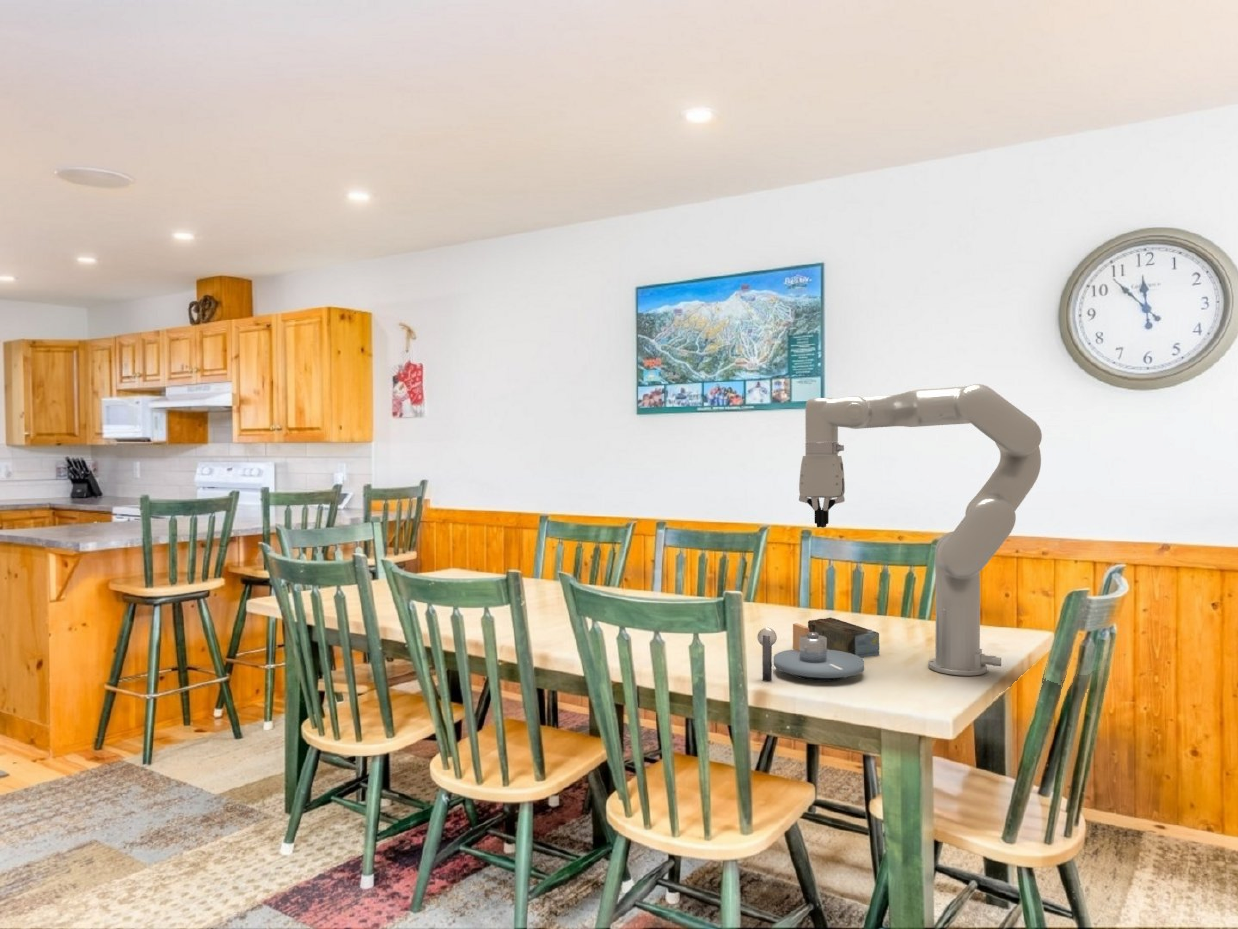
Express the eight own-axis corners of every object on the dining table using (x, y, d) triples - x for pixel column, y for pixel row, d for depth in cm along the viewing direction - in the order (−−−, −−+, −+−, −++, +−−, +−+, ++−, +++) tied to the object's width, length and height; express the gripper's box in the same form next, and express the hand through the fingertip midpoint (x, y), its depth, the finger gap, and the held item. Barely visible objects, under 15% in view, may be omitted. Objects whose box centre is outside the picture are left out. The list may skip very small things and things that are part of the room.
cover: (816, 655, 199) (816, 629, 199) (832, 661, 193) (832, 634, 193) (794, 657, 197) (794, 631, 197) (809, 664, 191) (809, 637, 191)
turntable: (832, 651, 208) (832, 620, 208) (882, 673, 189) (882, 639, 189) (757, 658, 202) (757, 626, 202) (801, 681, 183) (801, 646, 183)
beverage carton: (854, 660, 208) (854, 632, 208) (806, 643, 226) (806, 618, 226) (880, 656, 212) (880, 629, 211) (831, 640, 229) (830, 615, 229)
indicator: (777, 680, 190) (777, 628, 190) (774, 682, 189) (774, 630, 188) (759, 678, 192) (759, 626, 192) (756, 680, 190) (756, 628, 190)
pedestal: (850, 670, 198) (850, 663, 198) (839, 683, 187) (839, 676, 187) (798, 664, 204) (798, 658, 203) (785, 677, 193) (785, 670, 193)
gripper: (856, 449, 206) (856, 526, 206) (794, 449, 212) (794, 524, 213) (850, 450, 199) (850, 529, 200) (786, 450, 206) (786, 527, 206)
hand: (821, 526), depth 206 cm, fingers closed
